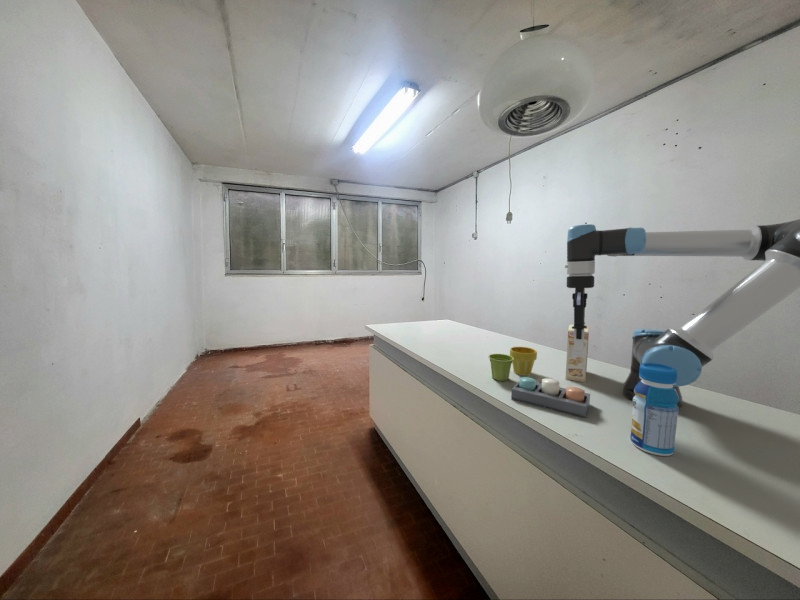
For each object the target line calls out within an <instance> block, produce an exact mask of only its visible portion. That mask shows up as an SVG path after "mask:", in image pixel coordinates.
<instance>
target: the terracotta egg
mask: <svg viewBox="0 0 800 600" xmlns="http://www.w3.org/2000/svg"><path fill="white" fill-rule="evenodd" d="M565 389H566V397H565V399H570V400H574V401H578V402H583V403H584V395H585V393H586V392H585V390H584V389H582V388H580V387H575V386H567V387H565Z"/></svg>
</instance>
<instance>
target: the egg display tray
mask: <svg viewBox="0 0 800 600" xmlns="http://www.w3.org/2000/svg"><path fill="white" fill-rule="evenodd" d="M519 384H520V380H519V381H518V382H517V383H516V384H515V385H514V386H513V387H512V388H511V396H510V397H511V398H510V399H511V400H513V401H518V402H520V403H525V404H528V405H529V404H530V405H533V406H536V407H541V408H544V409H548V410H552V411H556V412H561V413H564V414H567V415H572V416H576V417H580V418H583V419H585V418H586V416H587V413H588V410H589V408H590V401H591V393H587V392H585V395H584V403H583V402H578V401H574V400H570V399H565V397H566V387H560V386H559V396H558V397H557V396H552V395H548V394H544V393H541V391H542V382H541V383H540V382H536V387H535V391H531V390H526V389H522V388H519Z"/></svg>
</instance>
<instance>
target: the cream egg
mask: <svg viewBox="0 0 800 600" xmlns="http://www.w3.org/2000/svg"><path fill="white" fill-rule="evenodd" d="M541 383H542V391H541V393H544V394H548V395H552V396H557V397H558V396H559V387H560V382H559V380H556V379H554V378H542V379H541Z"/></svg>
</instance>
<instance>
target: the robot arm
mask: <svg viewBox="0 0 800 600" xmlns="http://www.w3.org/2000/svg"><path fill="white" fill-rule="evenodd" d="M566 249H567V250H566V259H567V260H566V264H565V266H564V268H565V269H566V274H567V275H568V276H567V277H566V288H568V289H575V290H574V293H572V294H571V296H572V298H571V299H572V300H573V301H572V307H573V325H574V327H573V326H572V329H574V348H575V349H584V328H587V326H588V325H585V324H586V322H585V312H586V307H587V299H588V292H585V291H586V290H585V289H592V288H594V287H595V276H594V274H596V262H595V260H596V259H595V258H596V256H607V257H736V258H738V257H741V258H743V259H744V260H745V261H763V262H762V263H760V264H759V265H758V266H757V267H755V268H754V269H753V270H752V271H750V272H749V273H748V274H746V275H745V276H744V277H743V278H741V279H740V280H739V281H738V282H736V283H735V284H734V285H732V286H731V287H729V288H728V289H727V290H726V291H724V293H722V294H721V295H720V296H718V298H716V299H715V300H713V301H711V303H710V304H708V305H707V306H706V307H705V308H703V309H702V310H701V311H699V312H698V313H696V314H695V315H694V316H693V317H692V318H690V319H689V320H688V321H687V322H685V323H684V324H682V326H681V327H669V328H667V329H666V330H659V329H649V328H636V329H634V330H633V335H632V345H631V346H632V347H631V348H632V349H631V357H630V359H631V360H630V371H629V374H628V375H627V377H626V380H625V381H624V384H623V385H622V391H621V392H622V393H621V394H622V395H623V396H624V397H626V398H628V399H630V400H631V401H633V397H634V396H635V393H634V389H635V386H636V385H637V384H638V383H639V382H640V381H641V380H642V379H641V378H640V377H639V369H640V365H641V364H642V363H656V364H662V365H667V366H670V367H673V368H675V369H676V370H677V381H676V384H675V385H672V386H673V387H674V388H675V390H676V391H677V393H678V396H679V402H678V403H677V406H678V408H681V407H682V405H683V395H682V392H681V389H680V387H685V386H687V385H690V384H692V383H694V382H696V381H697V380H698V378H700V376H701V374H702V367H704V366H706V365H707V364H708V363H710V362H711V361H713V360H714V350H716V349H717V348H719V346H721V345H722V344H725V343H726V342H727V341H728V340H730V339H732V337H734V336H735V335H736V334H738V333H739V332H741V331H742V330H744V329H745V328H747V327H748V326H749V325H751V324H752V323H754V322H755V321H756V320H757V319H759V318H760V317H762V316H763V315H765V314H766V313H767V312H768V311H770V310H772V309H773V308H774V307H776V306H777V305H779V303H782V301H784V300H786V299H787V298H788V297H790V296H791V295H792V294H794V293H795V292H797V291H798V290H799V289H800V219H796V220H791V221H787V222H786V221H785V222H781V223H773V224H767V225H764V224H763V225H751V226H750V227H749V228H747V229H721V230H720V229H719V230H690V231H689V230H683V231H682V230H681V231H679V230H678V231H653V232H651V231H650V232H649V231H648V232H646V230H645V228H644V227H627V228H616V229H607V230H606V229H605V230H604V229H603V230H597V228H596V225H595V224H592V223H591V224H578V225H573V226H570V227H569V229H567V237H566Z"/></svg>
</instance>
